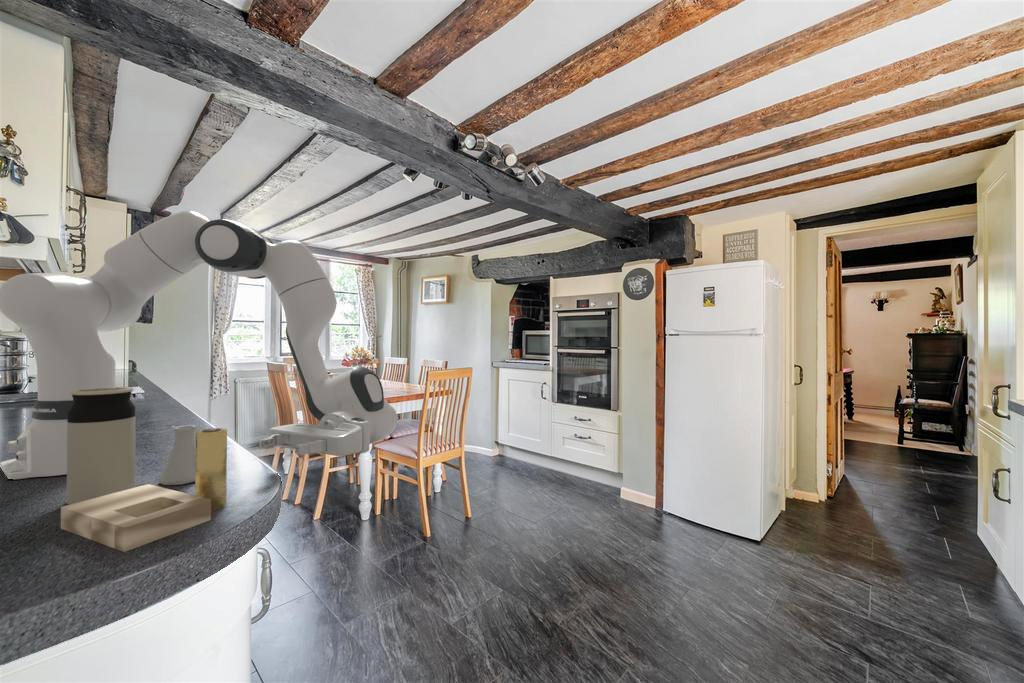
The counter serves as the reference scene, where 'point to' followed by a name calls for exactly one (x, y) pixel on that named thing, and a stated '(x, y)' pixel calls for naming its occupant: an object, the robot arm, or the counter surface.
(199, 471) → the gold metal post
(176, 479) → the flask
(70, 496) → the travel mug
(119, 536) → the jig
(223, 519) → the counter surface
